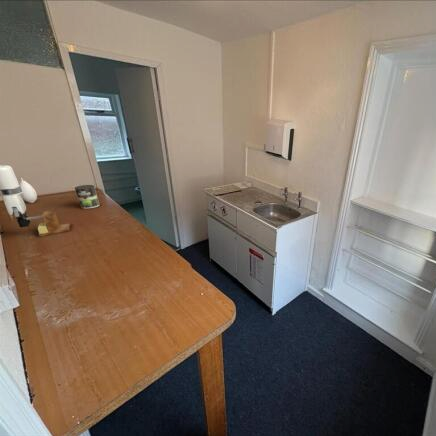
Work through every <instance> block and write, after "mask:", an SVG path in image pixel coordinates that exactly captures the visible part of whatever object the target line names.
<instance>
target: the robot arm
mask: <svg viewBox="0 0 436 436" xmlns="http://www.w3.org/2000/svg"><path fill="white" fill-rule="evenodd" d="M21 193H23V192H22V190H21V187H20V183H19V180H18V179H17V176H16V174H15V172H14V169H13V167H12V166H10V165H7V164H0V197H2V200H3V203H4V206H5V209H6V211H7V213H8V215H9V216H10V217H12V216H13V215H14V217H15V219H16V222H17V224H18V226H19V228H26V227H29V226H30V224H31V220H27V219H25V217H26V218H28V217H29V216H28V214H27V212H26V211H27V206H26V202H25V201H24V200H23V199H22V196H21Z"/></svg>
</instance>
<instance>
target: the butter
mask: <svg viewBox="0 0 436 436" xmlns="http://www.w3.org/2000/svg"><path fill="white" fill-rule="evenodd" d="M37 231H38V234H39V233H40V234H42V233H47V232H48V228H47V226H46V225H44V226H39V225H38V226H37Z"/></svg>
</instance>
